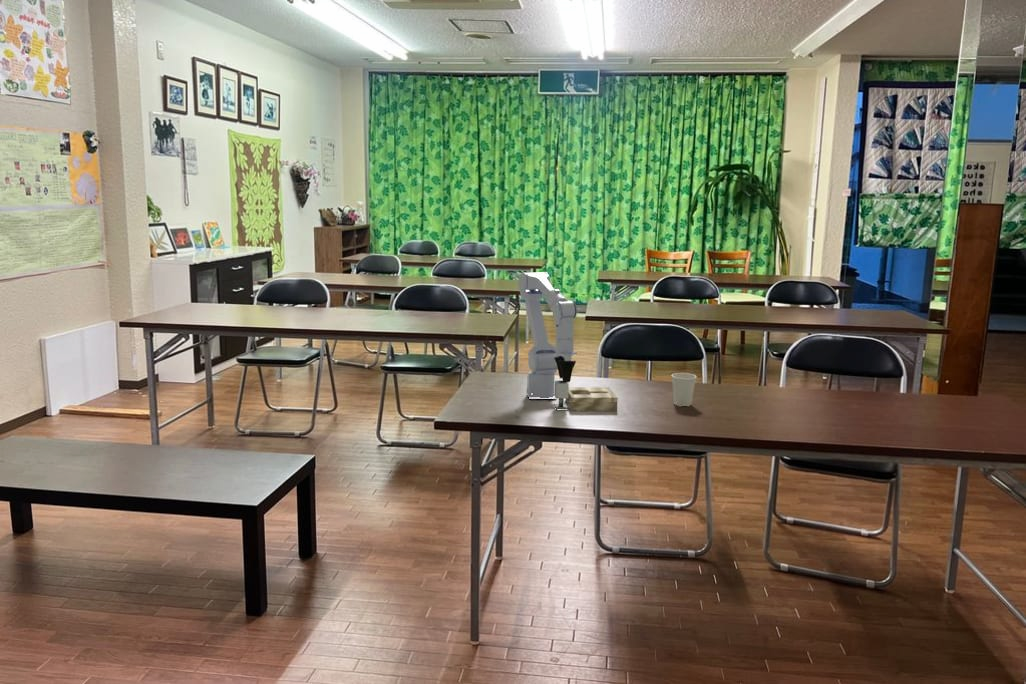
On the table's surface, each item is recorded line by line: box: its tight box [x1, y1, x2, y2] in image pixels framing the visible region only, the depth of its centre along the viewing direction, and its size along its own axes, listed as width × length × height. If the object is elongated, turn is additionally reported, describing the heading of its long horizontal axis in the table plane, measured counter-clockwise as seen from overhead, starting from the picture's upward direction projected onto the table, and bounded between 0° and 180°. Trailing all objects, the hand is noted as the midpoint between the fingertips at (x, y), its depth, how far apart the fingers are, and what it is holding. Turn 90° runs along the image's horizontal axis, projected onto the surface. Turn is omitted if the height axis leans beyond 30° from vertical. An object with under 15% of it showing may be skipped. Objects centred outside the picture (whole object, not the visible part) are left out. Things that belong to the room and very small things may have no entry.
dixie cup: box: [671, 372, 698, 407], centre depth 261 cm, size 8×8×10 cm
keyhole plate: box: [564, 386, 619, 412], centre depth 258 cm, size 15×14×4 cm
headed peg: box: [553, 380, 570, 410], centre depth 253 cm, size 4×4×9 cm
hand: (564, 380), depth 252 cm, fingers open, 7 cm apart
